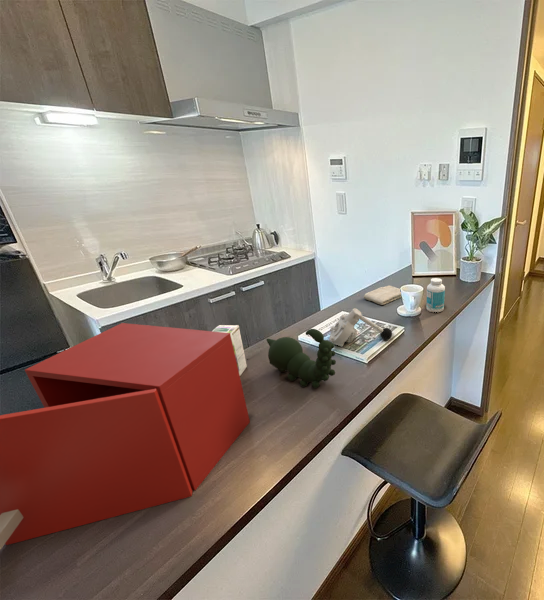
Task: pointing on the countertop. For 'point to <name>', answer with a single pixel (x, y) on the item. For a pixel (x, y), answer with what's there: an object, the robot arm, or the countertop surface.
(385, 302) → the washcloth
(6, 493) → the door
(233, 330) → the syrup box
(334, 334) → the mechanical valve
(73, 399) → the red cupboard
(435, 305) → the pill bottle
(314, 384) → the toy figurine
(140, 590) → the countertop surface
